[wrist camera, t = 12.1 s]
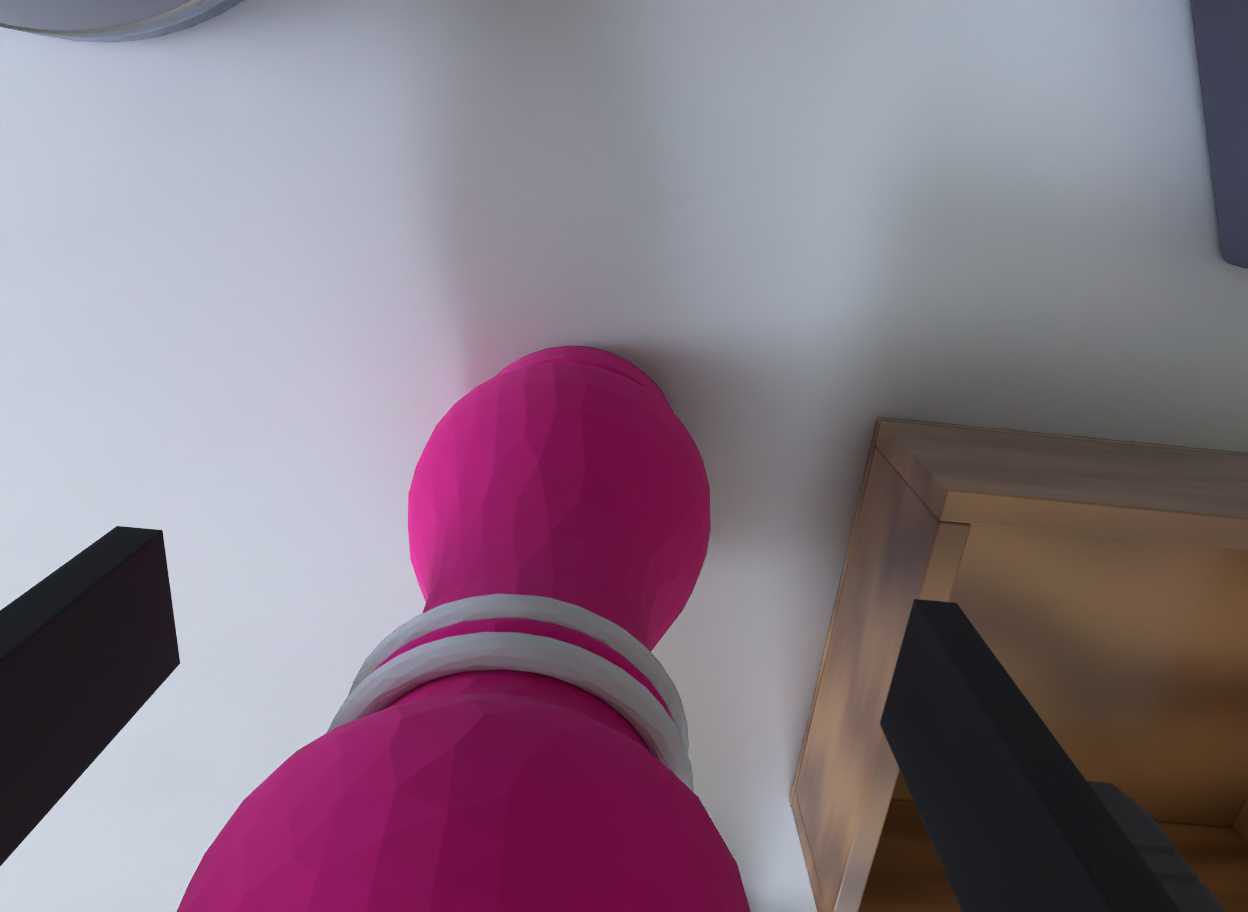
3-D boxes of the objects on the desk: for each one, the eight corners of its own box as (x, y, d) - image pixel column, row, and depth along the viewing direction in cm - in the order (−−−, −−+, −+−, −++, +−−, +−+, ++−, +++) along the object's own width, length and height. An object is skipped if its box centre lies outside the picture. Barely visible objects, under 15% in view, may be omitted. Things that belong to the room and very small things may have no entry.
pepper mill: (442, 326, 22) (-783, 1418, 3) (701, 327, 21) (1171, 1446, 3) (461, 555, 24) (-116, 1906, 5) (692, 556, 24) (903, 1927, 5)
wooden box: (877, 416, 22) (947, 489, 17) (1427, 470, 23) (1647, 556, 18) (788, 801, 28) (823, 941, 23) (1237, 838, 28) (1367, 983, 23)
